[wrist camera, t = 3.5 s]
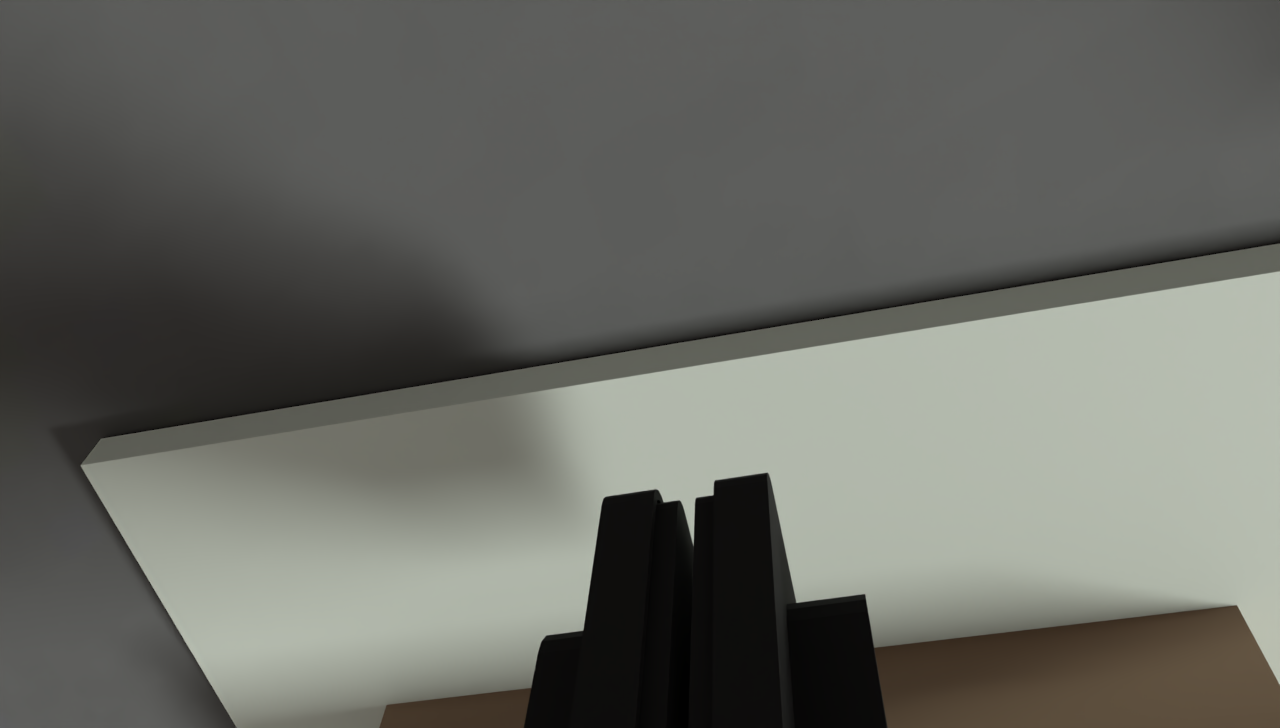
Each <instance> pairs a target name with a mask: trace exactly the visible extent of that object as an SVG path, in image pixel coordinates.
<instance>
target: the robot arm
mask: <svg viewBox="0 0 1280 728" xmlns="http://www.w3.org/2000/svg"><path fill="white" fill-rule="evenodd" d="M524 728H888V727H887V721H886V715H885V709H884V703H883V697H882V691H881V685H880V679H879V673H878V667H877V661H876V655H875V649H874V643H873V637H872V631H871V625H870V620H869V614H868V608H867V602H866V596H865V594H861V595H853V596H846V597H838V598H830V599H823V600H815V601H807V602H799V603H796V598H795V594H794V589H793V584H792V579H791V574H790V570H789V565H788V560H787V555H786V550H785V545H784V541H783V536H782V531H781V526H780V521H779V517H778V512H777V507H776V502H775V497H774V493H773V488H772V483H771V479H770V476H769V474H768V473H761V474H754V475H747V476H741V477H734V478H727V479H721V480H715V482H714V495H711V496H704V497H698V498H696V499H695V516H694V546H693V542H692V538H691V534H690V531H689V527H688V523H687V519H686V515H685V511H684V508H683V505H682V503H681V501H680V500H677V501H670V502H663V499H662V496H661V494H660V492H659V490H657V489H654V490H647V491H640V492H634V493H627V494H620V495H613V496H607V497H605V498H604V499H603V502H602V506H601V513H600V519H599V526H598V533H597V540H596V547H595V554H594V561H593V567H592V574H591V581H590V588H589V595H588V602H587V609H586V616H585V622H584V629H583V631H577V632H569V633H562V634H554V635H546V636H545V638H544V639H543V640H542V641H541V644H540V648H539V651H538V655H537V660H536V665H535V671H534V676H533V681H532V686H531V692H530V697H529V702H528V707H527V713H526V718H525V723H524Z"/></svg>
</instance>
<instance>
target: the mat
mask: <svg viewBox="0 0 1280 728" xmlns="http://www.w3.org/2000/svg"><path fill="white" fill-rule="evenodd" d="M80 466H81V467H82V469H83V471H84V473H85V474H86V476H87V478H88V479H89V481H90V483H91V484H92V486H93V488H94V489H95V491H96V493H97V494H98V496H99V498H100V499H101V501H102V503H103V504H104V506H105V508H106V509H107V511H108V513H109V514H110V516H111V518H112V519H113V521H114V523H115V525H116V526H117V528H118V530H119V531H120V533H121V535H122V536H123V538H124V540H125V541H126V543H127V545H128V546H129V548H130V550H131V551H132V553H133V555H134V556H135V558H136V560H137V561H138V563H139V565H140V566H141V568H142V570H143V571H144V573H145V575H146V577H147V578H148V580H149V582H150V583H151V585H152V587H153V588H154V590H155V592H156V593H157V595H158V597H159V598H160V600H161V602H162V603H163V605H164V607H165V608H166V610H167V612H168V613H169V615H170V617H171V618H172V620H173V622H174V623H175V625H176V627H177V629H178V630H179V632H180V634H181V635H182V637H183V639H184V640H185V642H186V644H187V645H188V647H189V649H190V650H191V652H192V654H193V655H194V657H195V659H196V660H197V662H198V664H199V665H200V667H201V669H202V670H203V672H204V674H205V675H206V677H207V679H208V681H209V682H210V684H211V686H212V687H213V689H214V691H215V692H216V694H217V696H218V697H219V699H220V701H221V702H222V704H223V706H224V707H225V709H226V711H227V712H228V714H229V716H230V717H231V719H232V721H233V722H234V724H235V726H236V727H237V728H379V727H380V724H381V721H382V718H383V714H384V711H385V708H386V705H389V704H398V703H406V702H415V701H424V700H432V699H441V698H449V697H458V696H466V695H475V694H483V693H492V692H500V691H509V690H518V689H526V688H531V686H532V681H533V676H534V671H535V665H536V660H537V655H538V651H539V648H540V644H541V641H542V640H543V639H544V638H545V636H546V635H554V634H562V633H569V632H577V631H583V629H584V622H585V616H586V609H587V602H588V595H589V588H590V581H591V574H592V567H593V561H594V554H595V547H596V540H597V533H598V526H599V519H600V513H601V506H602V502H603V499H604V498H605V497H607V496H613V495H620V494H627V493H634V492H640V491H647V490H654V489H657V490H659V492H660V494H661V496H662V499H663V502H670V501H677V500H680V501H681V503H682V505H683V508H684V511H685V515H686V519H687V523H688V527H689V531H690V534H691V538H692V542H693V546H694V516H695V499H696V498H698V497H704V496H711V495H714V482H715V480H721V479H727V478H734V477H741V476H747V475H754V474H761V473H768V474H769V476H770V479H771V483H772V488H773V493H774V497H775V502H776V507H777V512H778V517H779V521H780V526H781V531H782V536H783V541H784V545H785V550H786V555H787V560H788V565H789V570H790V574H791V579H792V584H793V589H794V594H795V598H796V603H799V602H807V601H815V600H823V599H830V598H838V597H846V596H853V595H861V594H865V596H866V602H867V608H868V614H869V620H870V625H871V631H872V637H873V643H874V648H876V647H885V646H893V645H902V644H911V643H919V642H928V641H936V640H945V639H953V638H962V637H970V636H979V635H987V634H996V633H1005V632H1013V631H1022V630H1030V629H1039V628H1047V627H1056V626H1064V625H1073V624H1081V623H1090V622H1099V621H1107V620H1116V619H1124V618H1133V617H1141V616H1150V615H1158V614H1167V613H1175V612H1184V611H1193V610H1201V609H1210V608H1218V607H1227V606H1235V605H1237V606H1238V608H1239V610H1240V612H1241V614H1242V616H1243V617H1244V619H1245V621H1246V623H1247V625H1248V627H1249V629H1250V630H1251V632H1252V634H1253V636H1254V638H1255V640H1256V642H1257V643H1258V645H1259V647H1260V649H1261V651H1262V653H1263V655H1264V656H1265V658H1266V660H1267V662H1268V664H1269V666H1270V668H1271V670H1272V671H1273V673H1274V675H1275V677H1276V679H1277V681H1278V683H1279V684H1280V243H1279V244H1273V245H1267V246H1261V247H1255V248H1249V249H1243V250H1237V251H1231V252H1225V253H1219V254H1213V255H1207V256H1201V257H1195V258H1189V259H1183V260H1177V261H1171V262H1165V263H1159V264H1153V265H1147V266H1141V267H1135V268H1129V269H1122V270H1116V271H1110V272H1104V273H1098V274H1092V275H1086V276H1080V277H1074V278H1068V279H1062V280H1056V281H1050V282H1044V283H1038V284H1032V285H1026V286H1020V287H1014V288H1008V289H1002V290H996V291H990V292H984V293H978V294H972V295H966V296H959V297H953V298H947V299H941V300H935V301H929V302H923V303H917V304H911V305H905V306H899V307H893V308H887V309H881V310H875V311H869V312H863V313H857V314H851V315H845V316H839V317H833V318H827V319H821V320H815V321H809V322H803V323H796V324H790V325H784V326H778V327H772V328H766V329H760V330H754V331H748V332H742V333H736V334H730V335H724V336H718V337H712V338H706V339H700V340H694V341H688V342H682V343H676V344H670V345H664V346H658V347H652V348H646V349H640V350H634V351H627V352H621V353H615V354H609V355H603V356H597V357H591V358H585V359H579V360H573V361H567V362H561V363H555V364H549V365H543V366H537V367H531V368H525V369H519V370H513V371H507V372H501V373H495V374H489V375H483V376H477V377H471V378H464V379H458V380H452V381H446V382H440V383H434V384H428V385H422V386H416V387H410V388H404V389H398V390H392V391H386V392H380V393H374V394H368V395H362V396H356V397H350V398H344V399H338V400H332V401H326V402H320V403H314V404H308V405H301V406H295V407H289V408H283V409H277V410H271V411H265V412H259V413H253V414H247V415H241V416H235V417H229V418H223V419H217V420H211V421H205V422H199V423H193V424H187V425H181V426H175V427H169V428H163V429H157V430H151V431H145V432H139V433H132V434H126V435H120V436H114V437H108V438H102V439H100V441H99V442H98V443H97V445H96V446H95V447H94V448H93V450H92V451H91V452H90V454H89V455H88V456H87V458H86V459H85V460H84V461H83V463H82V464H81V465H80Z"/></svg>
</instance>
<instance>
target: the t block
mask: <svg viewBox="0 0 1280 728" xmlns="http://www.w3.org/2000/svg"><path fill="white" fill-rule="evenodd" d="M874 649H875V655H876V661H877V667H878V673H879V679H880V685H881V691H882V697H883V703H884V709H885V715H886V721H887V727H888V728H1280V684H1279V683H1278V681H1277V679H1276V677H1275V675H1274V673H1273V671H1272V670H1271V668H1270V666H1269V664H1268V662H1267V660H1266V658H1265V656H1264V655H1263V653H1262V651H1261V649H1260V647H1259V645H1258V643H1257V642H1256V640H1255V638H1254V636H1253V634H1252V632H1251V630H1250V629H1249V627H1248V625H1247V623H1246V621H1245V619H1244V617H1243V616H1242V614H1241V612H1240V610H1239V608H1238V606H1237V605H1235V606H1227V607H1218V608H1210V609H1201V610H1193V611H1184V612H1175V613H1167V614H1158V615H1150V616H1141V617H1133V618H1124V619H1116V620H1107V621H1099V622H1090V623H1081V624H1073V625H1064V626H1056V627H1047V628H1039V629H1030V630H1022V631H1013V632H1005V633H996V634H987V635H979V636H970V637H962V638H953V639H945V640H936V641H928V642H919V643H911V644H902V645H893V646H885V647H876V648H874ZM530 692H531V688H526V689H518V690H509V691H500V692H492V693H483V694H475V695H466V696H458V697H449V698H441V699H432V700H424V701H415V702H406V703H398V704H389V705H386V708H385V711H384V714H383V718H382V721H381V724H380V727H379V728H524V723H525V718H526V713H527V707H528V702H529V697H530Z"/></svg>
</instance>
